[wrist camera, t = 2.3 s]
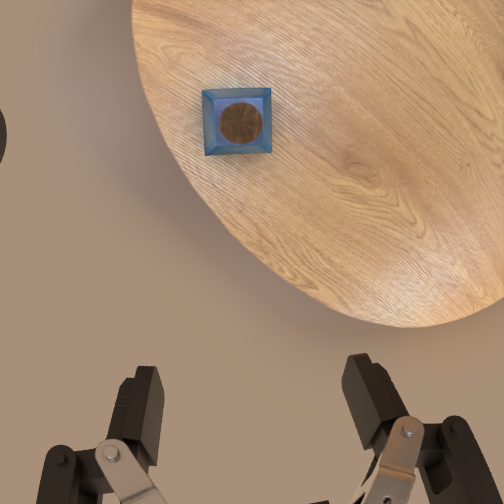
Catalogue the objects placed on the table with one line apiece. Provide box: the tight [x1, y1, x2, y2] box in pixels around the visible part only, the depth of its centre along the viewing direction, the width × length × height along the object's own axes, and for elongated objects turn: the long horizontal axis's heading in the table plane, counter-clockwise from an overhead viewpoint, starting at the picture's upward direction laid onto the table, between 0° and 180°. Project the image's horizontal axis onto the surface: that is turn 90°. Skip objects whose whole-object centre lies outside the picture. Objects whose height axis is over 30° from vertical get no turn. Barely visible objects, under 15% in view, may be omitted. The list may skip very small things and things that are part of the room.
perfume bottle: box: [202, 88, 272, 156], centre depth 26 cm, size 6×6×12 cm
